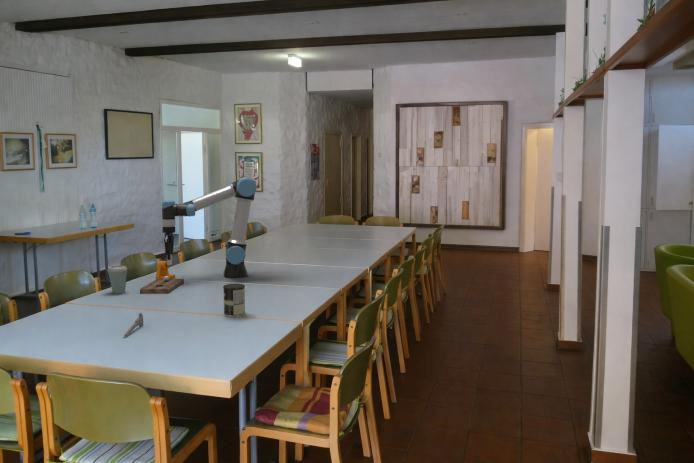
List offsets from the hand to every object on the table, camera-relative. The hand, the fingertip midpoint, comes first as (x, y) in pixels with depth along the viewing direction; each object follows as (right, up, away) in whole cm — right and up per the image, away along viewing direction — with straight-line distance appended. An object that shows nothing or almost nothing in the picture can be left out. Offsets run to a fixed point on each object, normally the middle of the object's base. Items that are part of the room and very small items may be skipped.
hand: (169, 264), depth 365 cm
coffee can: (+54, -20, -74) cm, 94 cm away
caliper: (+15, -24, -103) cm, 107 cm away
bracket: (-5, -10, +10) cm, 16 cm away
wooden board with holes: (0, -13, -14) cm, 19 cm away
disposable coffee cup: (-21, -15, -26) cm, 37 cm away
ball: (0, -8, -7) cm, 11 cm away
